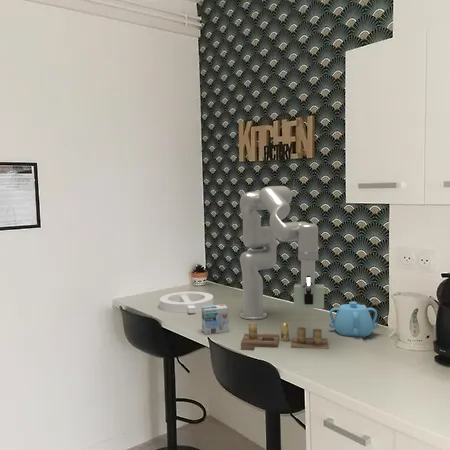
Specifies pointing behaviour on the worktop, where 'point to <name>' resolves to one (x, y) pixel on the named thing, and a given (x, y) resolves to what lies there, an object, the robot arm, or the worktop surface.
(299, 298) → the cover
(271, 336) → the build board
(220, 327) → the light bulb box
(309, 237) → the robot arm
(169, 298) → the ring with crossbar
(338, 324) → the decorative pot
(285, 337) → the pin
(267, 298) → the worktop surface
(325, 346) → the board
